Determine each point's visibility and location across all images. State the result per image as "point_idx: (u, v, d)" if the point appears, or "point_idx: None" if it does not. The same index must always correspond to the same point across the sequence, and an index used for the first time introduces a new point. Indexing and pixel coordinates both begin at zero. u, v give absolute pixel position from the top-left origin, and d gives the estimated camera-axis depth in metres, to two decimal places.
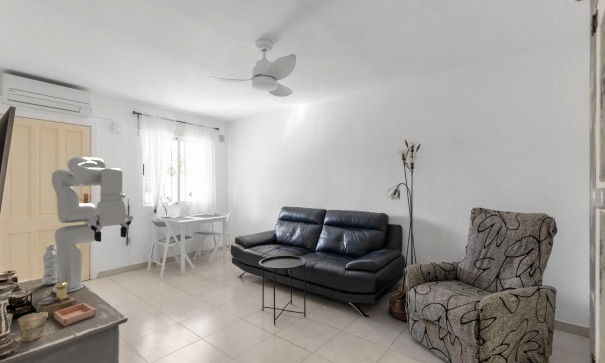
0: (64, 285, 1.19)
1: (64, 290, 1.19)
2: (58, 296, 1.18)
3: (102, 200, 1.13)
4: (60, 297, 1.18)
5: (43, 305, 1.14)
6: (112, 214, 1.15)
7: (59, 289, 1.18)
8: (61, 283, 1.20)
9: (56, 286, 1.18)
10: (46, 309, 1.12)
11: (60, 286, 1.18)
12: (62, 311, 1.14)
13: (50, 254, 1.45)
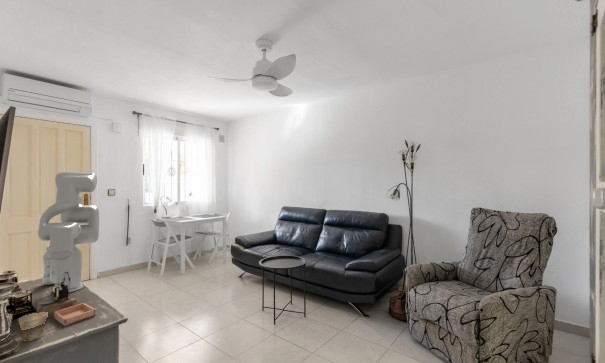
0: None
1: None
2: None
3: (66, 257, 1.18)
4: None
5: (43, 305, 1.14)
6: None
7: None
8: None
9: (56, 286, 1.18)
10: (46, 309, 1.12)
11: None
12: (62, 311, 1.14)
13: None
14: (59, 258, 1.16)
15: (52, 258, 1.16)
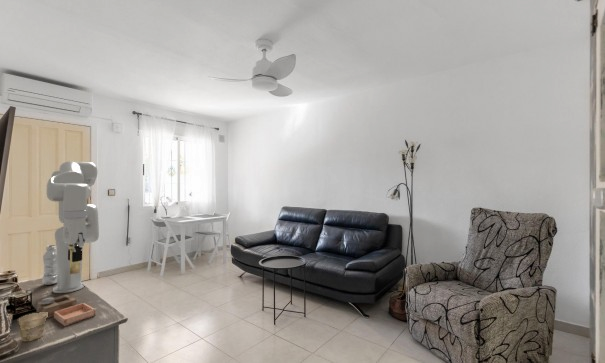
0: None
1: None
2: None
3: (80, 217, 1.11)
4: None
5: (43, 305, 1.14)
6: None
7: None
8: None
9: (70, 247, 1.11)
10: (46, 309, 1.12)
11: None
12: (62, 311, 1.14)
13: (50, 254, 1.45)
14: (73, 217, 1.10)
15: (66, 217, 1.09)
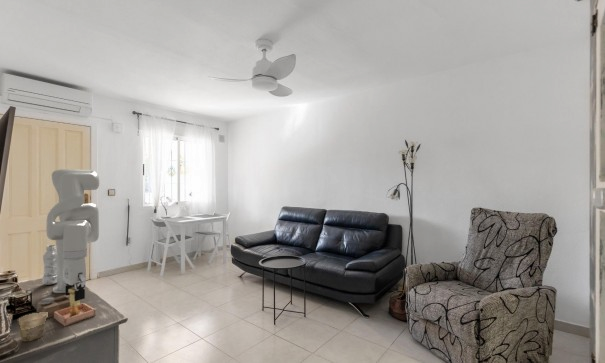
0: None
1: None
2: (71, 302, 1.12)
3: (80, 257, 1.12)
4: (74, 303, 1.12)
5: (43, 305, 1.14)
6: None
7: (72, 294, 1.12)
8: (74, 288, 1.13)
9: (69, 291, 1.11)
10: (46, 309, 1.12)
11: (74, 291, 1.12)
12: (62, 311, 1.14)
13: (50, 254, 1.45)
14: (73, 258, 1.10)
15: (65, 258, 1.09)
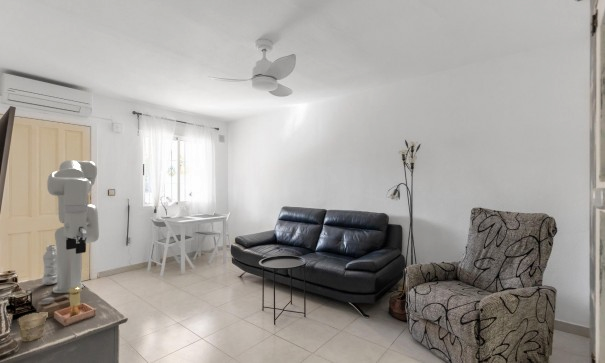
0: (78, 290, 1.12)
1: (78, 295, 1.13)
2: (71, 302, 1.12)
3: (81, 211, 1.12)
4: (74, 303, 1.12)
5: (43, 305, 1.14)
6: None
7: (72, 294, 1.12)
8: (74, 288, 1.13)
9: (69, 291, 1.11)
10: (46, 309, 1.12)
11: (74, 291, 1.12)
12: (62, 311, 1.14)
13: (50, 254, 1.45)
14: (74, 212, 1.11)
15: (66, 211, 1.10)
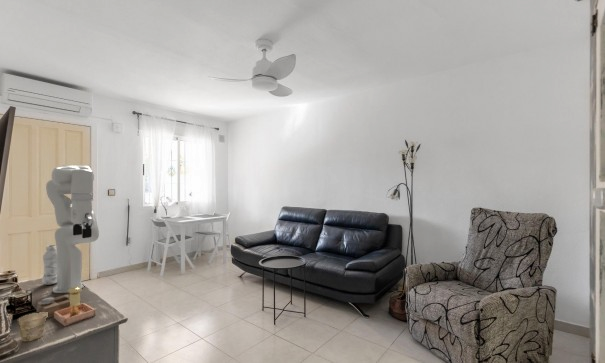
0: (78, 290, 1.12)
1: (78, 295, 1.13)
2: (71, 302, 1.12)
3: (87, 199, 1.22)
4: (74, 303, 1.12)
5: (43, 305, 1.14)
6: None
7: (72, 295, 1.12)
8: (74, 288, 1.13)
9: (69, 291, 1.11)
10: (46, 309, 1.12)
11: (74, 291, 1.11)
12: (62, 311, 1.14)
13: (50, 254, 1.45)
14: (80, 199, 1.20)
15: (74, 199, 1.20)
